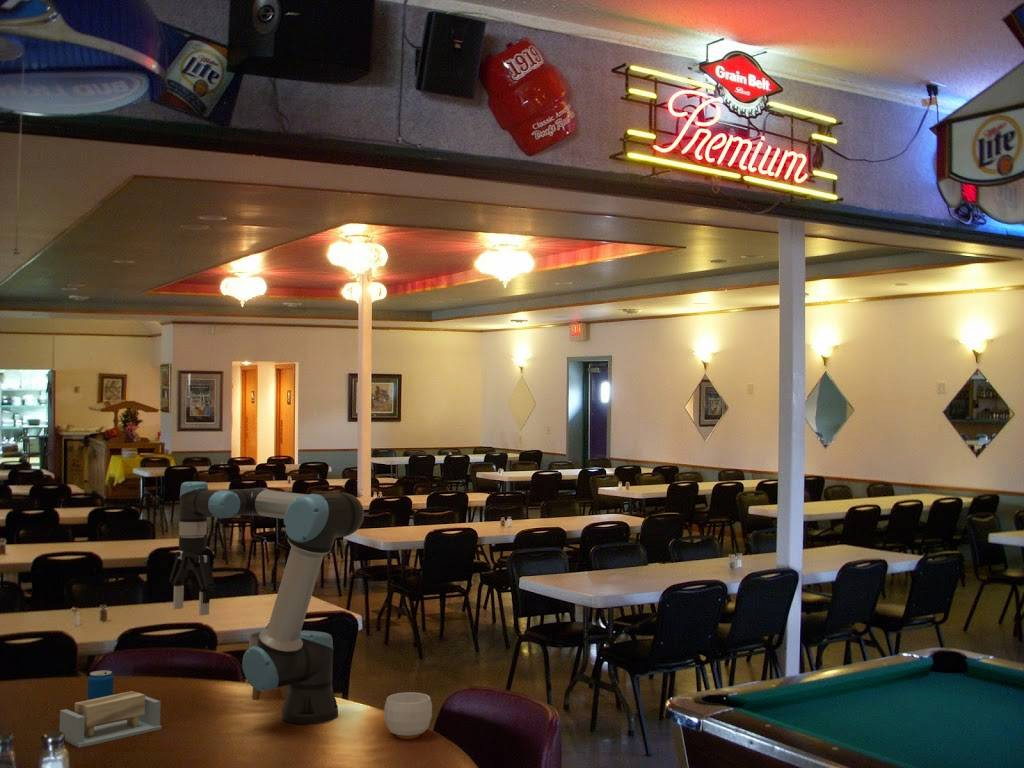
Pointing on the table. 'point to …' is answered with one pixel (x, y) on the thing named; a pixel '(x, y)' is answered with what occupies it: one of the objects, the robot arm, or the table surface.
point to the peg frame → (109, 726)
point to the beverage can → (100, 684)
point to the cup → (408, 714)
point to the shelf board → (111, 708)
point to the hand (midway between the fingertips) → (190, 611)
